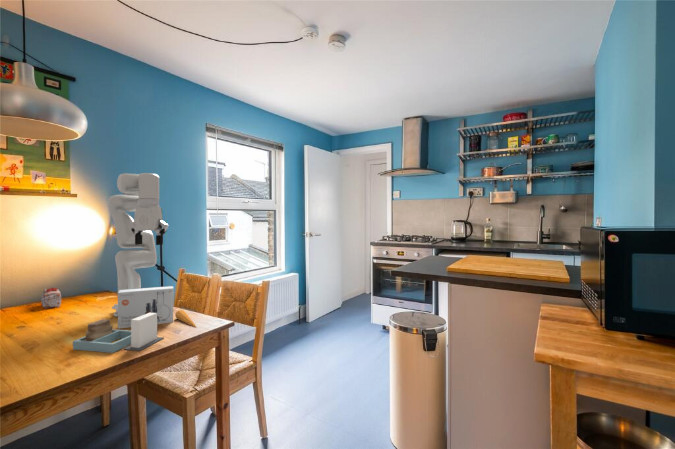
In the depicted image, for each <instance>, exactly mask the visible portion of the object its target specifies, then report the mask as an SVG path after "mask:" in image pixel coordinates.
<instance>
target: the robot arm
mask: <svg viewBox="0 0 675 449" xmlns="http://www.w3.org/2000/svg"><path fill="white" fill-rule="evenodd" d="M116 186H117V190H118V191H119V192H120V193H122V194H114V195H111V196H110V197H109V198H108V202H107V206H108V210H109V213H110V216H111V218H112V220H113V222H114V227H115V234H116V235H115V236H116V242H117V243H116V244H117V245H118V247H119V248H121V249H123V250H120V251H117V253H116V254H115V258H114V259H115V260H114V261H115V266H116V273H117V274H116V275H117V293H118V292H119V290H127V289H141V287H142V285H141V284H142V282H141V280H142V279H141V275H140V274H139V273H138V272H137V271H136V270H135V269H142V268H143V269H145V268H152V267H154V266H156V264H157V262H158V261H157V260H158V259H157V258H158V257H157V256H158V255H157V249H156V246H161V245H162V246H163V244H164V235H165V234H166V233H167V231H168V228H169V224H168V223H166V222H165V221H164V220H163V213H162V208H161V206H160V176H159V175H158V174H156V173H151V172H150V173H149V172H141V173H138V174H137V173H127V172H125V173H120V174H119V175H118V177H117V181H116ZM127 212H131V213H133V212H134V218H133V217H132V216H131V215H130V214H129V213H127ZM153 231H154V232H155V233H156V235H155V237H154V233H153ZM111 309H112V310H115V311H114V313H113V316H114V317H117V318H118V303H115V304H114V305H113V306H112V307H111Z"/></svg>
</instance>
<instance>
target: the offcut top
mask: <svg viewBox="0 0 675 449" xmlns="http://www.w3.org/2000/svg"><path fill="white" fill-rule="evenodd" d="M110 325H111V319H104V318H101V319H99V320H96V321H93V322H89V323H88V324H87V331H94V332H97V331H99V330H102V329H104V328H107V327H109V326H110Z"/></svg>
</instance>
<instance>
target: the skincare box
mask: <svg viewBox="0 0 675 449" xmlns="http://www.w3.org/2000/svg"><path fill="white" fill-rule="evenodd" d="M117 304H118V317H117V330H120V329H126V328H131V320H132V319H134V318H137V317H140V316H142V315H145V314H147V313H157V325H160V324H169V323H173V322H174V285H173V286H172V285H168V286H158V287H157V286H156V287H155V286H153V287H142V288H141V289H127V290H119V292H118V291H117Z"/></svg>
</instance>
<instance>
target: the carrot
mask: <svg viewBox="0 0 675 449" xmlns="http://www.w3.org/2000/svg"><path fill="white" fill-rule="evenodd" d="M174 314H175V315H174V316H175V319H177V320H179V321H181V322H183V323H185V324H187V325H188V326H192V327H194V328H196V327H197V325H196V323H195V322H194V321H193V320H192V318H191V317H190V316H189V315H188V314H187V313H186V312H185V310H183V309H180V310H177V311H175V313H174Z"/></svg>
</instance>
